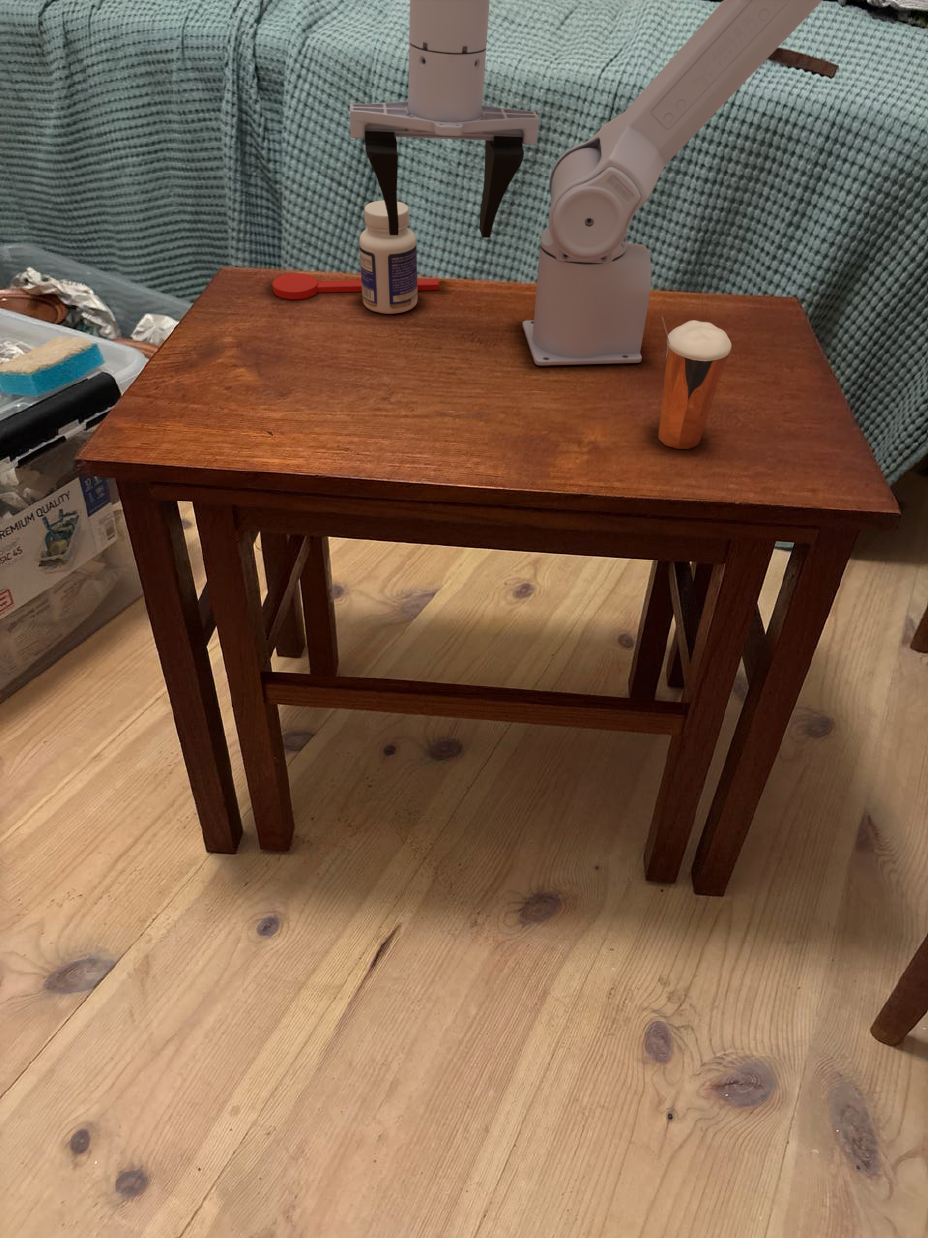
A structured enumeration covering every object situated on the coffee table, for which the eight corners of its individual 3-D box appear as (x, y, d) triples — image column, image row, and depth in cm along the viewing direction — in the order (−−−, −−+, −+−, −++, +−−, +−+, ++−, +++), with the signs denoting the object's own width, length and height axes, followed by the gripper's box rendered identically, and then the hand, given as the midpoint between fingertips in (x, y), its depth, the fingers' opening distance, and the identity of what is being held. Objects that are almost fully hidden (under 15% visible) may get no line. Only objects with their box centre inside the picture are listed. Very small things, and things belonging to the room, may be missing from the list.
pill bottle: (421, 293, 90) (420, 199, 84) (413, 317, 86) (411, 220, 80) (367, 289, 91) (363, 195, 85) (357, 312, 87) (351, 215, 81)
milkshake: (633, 423, 73) (654, 302, 67) (699, 422, 74) (726, 302, 67) (646, 455, 70) (669, 331, 63) (714, 454, 71) (745, 330, 64)
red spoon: (436, 278, 93) (436, 270, 93) (440, 296, 90) (440, 288, 89) (274, 281, 92) (273, 273, 91) (272, 300, 88) (271, 291, 88)
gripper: (349, 53, 64) (353, 248, 73) (553, 63, 66) (531, 252, 75) (348, 30, 69) (351, 215, 78) (537, 40, 71) (519, 220, 80)
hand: (439, 231), depth 77 cm, fingers open, 7 cm apart
